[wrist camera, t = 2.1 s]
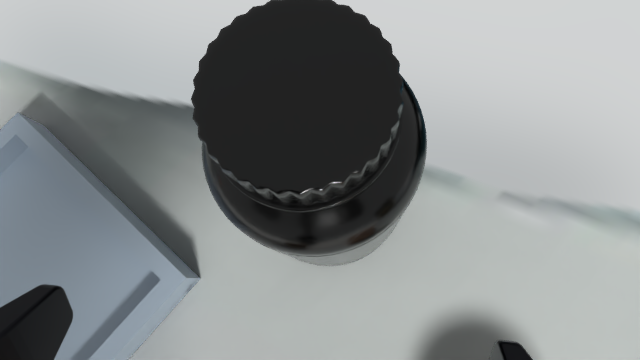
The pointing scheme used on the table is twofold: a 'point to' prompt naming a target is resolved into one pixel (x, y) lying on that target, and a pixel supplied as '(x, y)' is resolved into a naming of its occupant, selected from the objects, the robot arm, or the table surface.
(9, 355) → the robot arm
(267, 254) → the table surface
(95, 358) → the tray
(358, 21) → the supplement bottle
